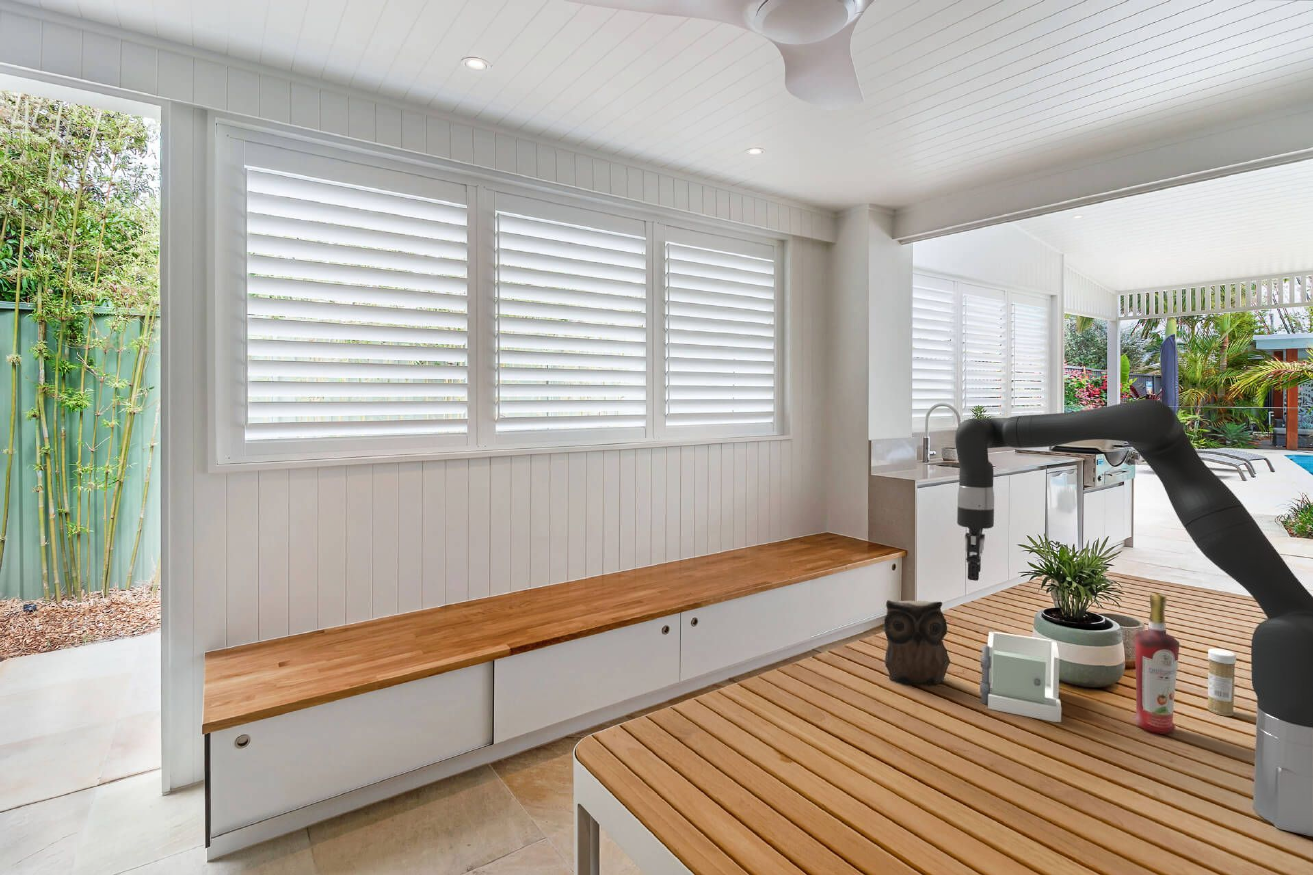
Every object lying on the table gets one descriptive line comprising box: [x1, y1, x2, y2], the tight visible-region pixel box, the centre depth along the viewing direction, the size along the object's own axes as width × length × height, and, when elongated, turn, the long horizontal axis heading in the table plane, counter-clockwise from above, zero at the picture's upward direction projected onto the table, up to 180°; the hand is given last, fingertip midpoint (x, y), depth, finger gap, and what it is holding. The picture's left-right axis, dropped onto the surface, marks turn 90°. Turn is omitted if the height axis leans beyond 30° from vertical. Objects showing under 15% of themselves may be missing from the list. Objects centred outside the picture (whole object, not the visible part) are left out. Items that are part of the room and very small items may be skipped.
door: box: [992, 650, 1046, 705], centre depth 142 cm, size 4×10×12 cm, turn 61°
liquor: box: [1133, 593, 1180, 735], centre depth 133 cm, size 7×7×28 cm
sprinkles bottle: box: [1206, 648, 1237, 717], centre depth 141 cm, size 5×5×14 cm
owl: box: [883, 599, 951, 687], centre depth 158 cm, size 13×13×20 cm
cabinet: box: [979, 630, 1062, 723], centre depth 148 cm, size 18×16×13 cm
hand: (974, 575), depth 148 cm, fingers open, 8 cm apart
